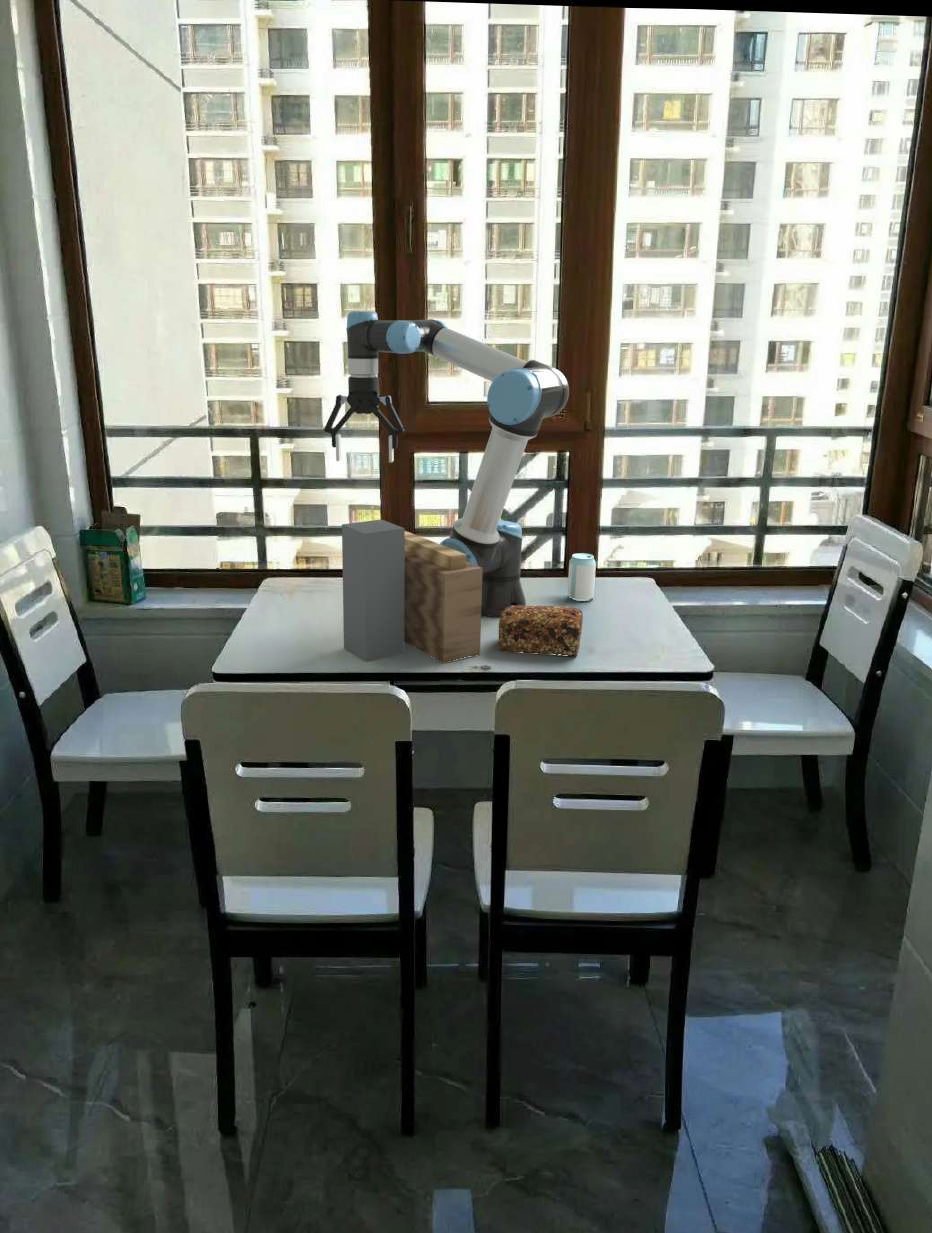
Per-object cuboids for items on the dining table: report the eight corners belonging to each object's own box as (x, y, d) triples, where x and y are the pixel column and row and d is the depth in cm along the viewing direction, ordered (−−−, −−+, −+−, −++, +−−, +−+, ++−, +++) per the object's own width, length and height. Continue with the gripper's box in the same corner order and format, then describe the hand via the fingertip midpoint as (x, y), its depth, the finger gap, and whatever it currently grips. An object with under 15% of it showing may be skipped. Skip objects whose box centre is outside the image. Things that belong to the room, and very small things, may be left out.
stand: (343, 648, 228) (341, 524, 219) (381, 640, 234) (381, 519, 225) (365, 661, 221) (364, 533, 212) (404, 653, 226) (404, 528, 217)
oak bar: (385, 542, 239) (385, 530, 238) (399, 540, 241) (399, 528, 240) (451, 570, 217) (451, 556, 217) (466, 567, 220) (466, 554, 219)
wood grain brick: (396, 637, 236) (396, 553, 230) (431, 630, 242) (432, 548, 235) (443, 663, 221) (444, 574, 214) (479, 655, 226) (482, 567, 220)
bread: (581, 644, 235) (584, 604, 232) (577, 660, 225) (580, 618, 222) (503, 637, 238) (505, 597, 235) (496, 652, 228) (497, 611, 225)
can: (578, 593, 274) (581, 551, 270) (598, 599, 269) (601, 556, 265) (561, 598, 269) (564, 555, 265) (582, 604, 264) (585, 560, 261)
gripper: (414, 375, 252) (415, 459, 258) (317, 373, 253) (320, 457, 260) (410, 377, 244) (411, 464, 251) (310, 376, 246) (313, 462, 253)
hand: (365, 461), depth 255 cm, fingers open, 13 cm apart
